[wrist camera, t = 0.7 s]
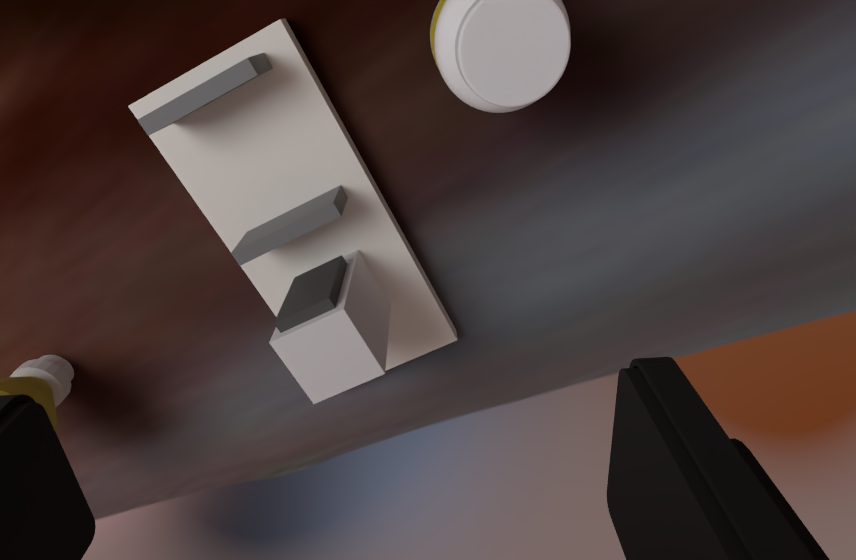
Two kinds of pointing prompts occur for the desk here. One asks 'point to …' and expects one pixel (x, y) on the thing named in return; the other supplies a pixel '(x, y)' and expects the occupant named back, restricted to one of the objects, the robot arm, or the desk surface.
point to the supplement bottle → (500, 50)
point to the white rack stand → (297, 212)
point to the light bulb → (41, 382)
